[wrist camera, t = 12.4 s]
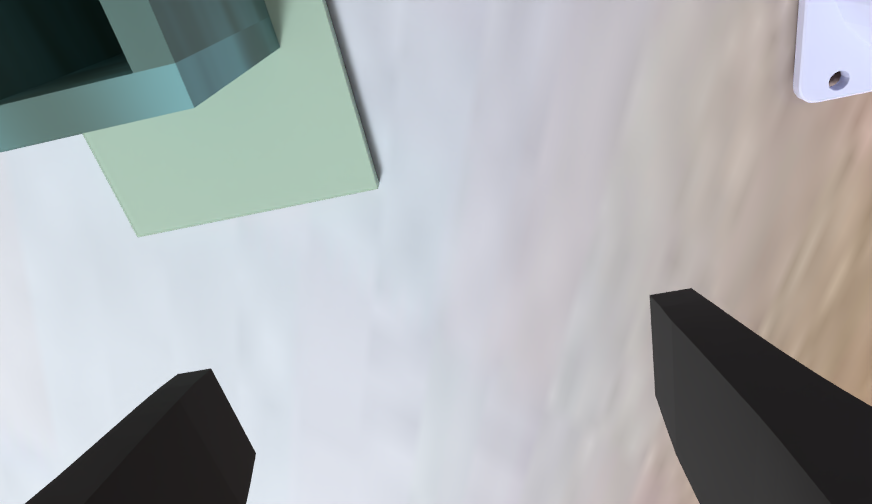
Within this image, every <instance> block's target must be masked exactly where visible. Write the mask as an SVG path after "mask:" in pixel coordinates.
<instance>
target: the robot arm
mask: <svg viewBox="0 0 872 504" xmlns="http://www.w3.org/2000/svg"><path fill="white" fill-rule="evenodd" d="M838 71H840V72H841V77H840V80H839V81H838V82H837V83H836V84H835V85H833V86H831V87H829V80H830V77H831V76H832V75H833V74H834V73H836V72H838ZM793 88H794V93H795V94H796V95H797V97H798V98H801V99H803V100H805V101H807V102H809V103H812V102H821V101H826V100H831V99H836V98H841V97H846V96H851V95H856V94H861V93H866V92H871V91H872V0H799V10H798V24H797V38H796V52H795V66H794V80H793ZM650 309H651V326H652V344H653V362H654V380H655V395H656V398H657V401H658V404H659V407H660V410H661V413H662V416H663V419H664V422H665V425H666V428H667V430H668V433H669V436H670V439H671V441H672V444H673V447H674V450H675V453H676V455H677V457H678V459H679V462H680V464H681V466H682V468H683V470H684V472H685V474H686V476H687V478H688V480H689V482H690V484H691V486H692V489H693V491H694V493H695V495H696V497H697V499H698V501H699V503H700V504H872V406H870V405H868V404H866V403H865V402H863V401H861V400H860V399H858V398H856V397H854V396H853V395H851V394H849V393H847V392H846V391H844V390H842V389H841V388H839V387H837V386H836V385H834V384H833V383H831V382H829V381H828V380H826V379H824V378H823V377H821V376H820V375H818V374H816V373H815V372H813V371H812V370H810V369H809V368H807V367H805V366H804V365H802V364H801V363H799V362H798V361H796V360H795V359H793V358H792V357H790V356H789V355H787V354H785V353H784V352H782V351H781V350H779V349H778V348H776V347H775V346H773V345H772V344H770V343H769V342H768V341H766V340H765V339H763V338H762V337H760V336H759V335H757V334H756V333H754V332H753V331H752V330H750V329H749V328H747V327H746V326H744V325H743V324H741V323H740V322H739V321H737V320H736V319H734V318H733V317H732V316H730V315H729V314H727V313H726V312H724V311H723V310H722V309H720V308H719V307H717V306H716V305H714V304H713V303H712V302H710V301H709V300H707V299H706V298H704V297H703V296H702V295H700V294H699V293H697V292H696V291H694V290H693V289H692V288H690V289H684V290H678V291H672V292H666V293H660V294H654V295H650ZM255 455H256V453H255V451H254V449H253V447H252V445H251V443H250V441H249V439H248V437H247V436H246V434H245V432H244V430H243V428H242V426H241V424H240V422H239V420H238V419H237V417H236V415H235V413H234V411H233V409H232V407H231V405H230V403H229V402H228V400H227V398H226V396H225V394H224V392H223V390H222V388H221V386H220V385H219V383H218V381H217V379H216V377H215V375H214V373H213V371H212V369H206V370H200V371H194V372H188V373H182V374H177V375H176V376H175V377H173V378H172V379H171V380H169V381H168V382H167V383H165V384H164V385H163V386H161V387H160V388H159V389H158V390H157V391H155V392H154V393H153V394H152V395H150V396H149V397H148V398H147V399H146V400H145V401H143V402H142V403H141V404H140V405H139V406H138V407H136V408H135V409H134V410H133V411H132V412H131V413H129V414H128V415H127V416H126V417H125V418H124V419H123V420H121V421H120V422H119V423H118V424H117V425H116V426H115V427H114V428H112V429H111V430H110V431H109V432H108V433H107V434H106V435H104V436H103V437H102V438H101V439H100V440H99V441H98V442H96V443H95V444H94V445H93V446H92V447H91V448H90V449H88V450H87V451H86V452H85V453H84V454H83V455H82V456H80V457H79V458H78V459H77V460H76V461H75V462H74V463H72V464H71V465H70V466H69V467H68V468H67V469H66V470H64V471H63V472H62V473H61V474H60V475H59V476H58V477H56V478H55V479H54V480H53V481H52V482H50V483H49V484H48V485H47V486H46V487H44V488H43V489H42V490H41V491H39V492H38V493H37V494H36V495H35V496H33V497H32V498H31V499H30V500H29V501H27V502H26V503H25V504H246V501H247V497H248V492H249V488H250V483H251V477H252V472H253V466H254V461H255Z"/></svg>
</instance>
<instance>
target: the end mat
mask: <svg viewBox="0 0 872 504" xmlns="http://www.w3.org/2000/svg"><path fill="white" fill-rule="evenodd" d="M264 1H265V4H266V7H267V10H268V13H269V16H270V19H271V22H272V25H273V28H274V31H275V33H276V36H277V39H278V42H279V45H280V48H279V49H278V50H276V51H275V52H273V53H272V54H270V55H269V56H268V57H266V58H265V59H263V60H262V61H260V62H259V63H258V64H256V65H255V66H253V67H252V68H251V69H249V70H248V71H246V72H245V73H243V74H242V75H241V76H239V77H238V78H236V79H235V80H233V81H232V82H231V83H229V84H228V85H226V86H225V87H223V88H222V89H221V90H219V91H218V92H216V93H215V94H214V95H212V96H211V97H209V98H208V99H206V100H205V101H204V102H202V103H201V104H199V105H198V106H196V107H195V108H192V109H188V110H183V111H179V112H175V113H170V114H166V115H162V116H157V117H153V118H148V119H144V120H140V121H135V122H131V123H127V124H122V125H118V126H114V127H109V128H105V129H100V130H96V131H92V132H87V133H83V136H84V138H85V139H86V141H87V143H88V145H89V147H90V149H91V151H92V153H93V155H94V156H95V158H96V160H97V162H98V164H99V166H100V168H101V170H102V171H103V173H104V175H105V177H106V179H107V181H108V183H109V185H110V186H111V188H112V190H113V192H114V194H115V196H116V198H117V200H118V201H119V203H120V205H121V207H122V209H123V211H124V213H125V215H126V216H127V218H128V220H129V222H130V224H131V226H132V228H133V230H134V231H135V233H136V235H137V237H142V236H147V235H152V234H157V233H162V232H167V231H172V230H177V229H182V228H187V227H192V226H197V225H202V224H207V223H212V222H216V221H221V220H226V219H231V218H236V217H241V216H246V215H251V214H256V213H261V212H266V211H271V210H276V209H281V208H286V207H291V206H296V205H301V204H306V203H311V202H316V201H321V200H326V199H330V198H335V197H340V196H345V195H350V194H355V193H360V192H365V191H370V190H375V189H378V186H379V182H378V178H377V175H376V172H375V168H374V165H373V161H372V158H371V154H370V151H369V148H368V144H367V141H366V137H365V134H364V130H363V127H362V124H361V120H360V117H359V113H358V110H357V106H356V103H355V100H354V96H353V93H352V89H351V86H350V83H349V79H348V76H347V72H346V69H345V65H344V62H343V59H342V55H341V52H340V48H339V45H338V41H337V38H336V35H335V31H334V28H333V24H332V21H331V18H330V14H329V11H328V7H327V4H326V0H264Z"/></svg>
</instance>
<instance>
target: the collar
mask: <svg viewBox="0 0 872 504" xmlns="http://www.w3.org/2000/svg"><path fill="white" fill-rule="evenodd" d="M279 48H280V45H279V42H278V39H277V36H276V33H275V31H274V28H273V25H272V22H271V19H270V16H269V13H268V10H267V7H266V4H265V1H264V0H0V152H4V151H9V150H13V149H17V148H22V147H26V146H31V145H35V144H39V143H44V142H48V141H52V140H57V139H61V138H65V137H70V136H74V135H79V134H83V133H87V132H92V131H96V130H100V129H105V128H109V127H114V126H118V125H122V124H127V123H131V122H135V121H140V120H144V119H148V118H153V117H157V116H162V115H166V114H170V113H175V112H179V111H183V110H188V109H192V108H195V107H196V106H198V105H199V104H201V103H202V102H204V101H205V100H206V99H208V98H209V97H211V96H212V95H214V94H215V93H216V92H218V91H219V90H221V89H222V88H223V87H225V86H226V85H228V84H229V83H231V82H232V81H233V80H235V79H236V78H238V77H239V76H241V75H242V74H243V73H245V72H246V71H248V70H249V69H251V68H252V67H253V66H255V65H256V64H258V63H259V62H260V61H262V60H263V59H265V58H266V57H268V56H269V55H270V54H272V53H273V52H275V51H276V50H278V49H279Z"/></svg>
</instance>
